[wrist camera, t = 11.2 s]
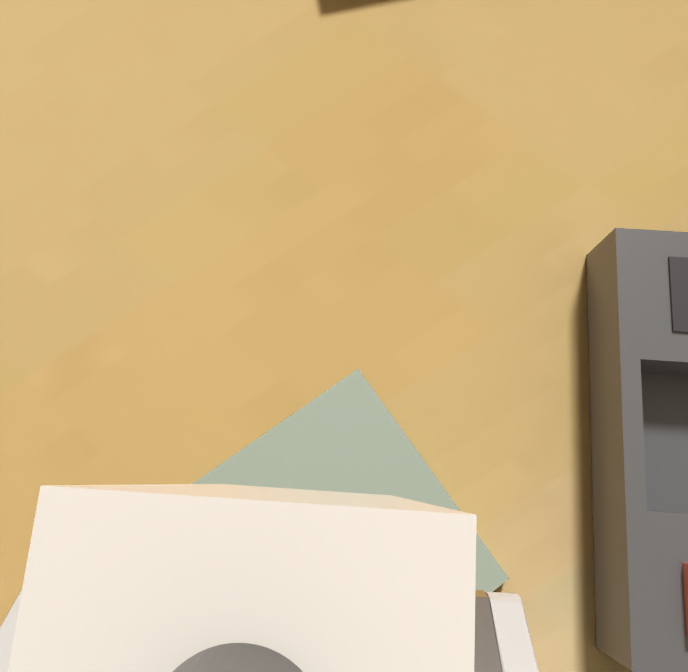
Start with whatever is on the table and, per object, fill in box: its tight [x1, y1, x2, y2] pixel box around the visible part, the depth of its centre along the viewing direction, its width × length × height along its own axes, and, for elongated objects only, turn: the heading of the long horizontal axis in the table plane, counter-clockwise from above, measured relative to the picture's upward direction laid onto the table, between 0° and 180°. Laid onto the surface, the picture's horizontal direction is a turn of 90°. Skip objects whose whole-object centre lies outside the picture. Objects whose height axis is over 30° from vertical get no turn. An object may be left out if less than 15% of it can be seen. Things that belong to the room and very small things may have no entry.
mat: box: [193, 369, 509, 592], centre depth 24 cm, size 10×10×1 cm
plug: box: [8, 484, 476, 672], centre depth 10 cm, size 4×4×12 cm
